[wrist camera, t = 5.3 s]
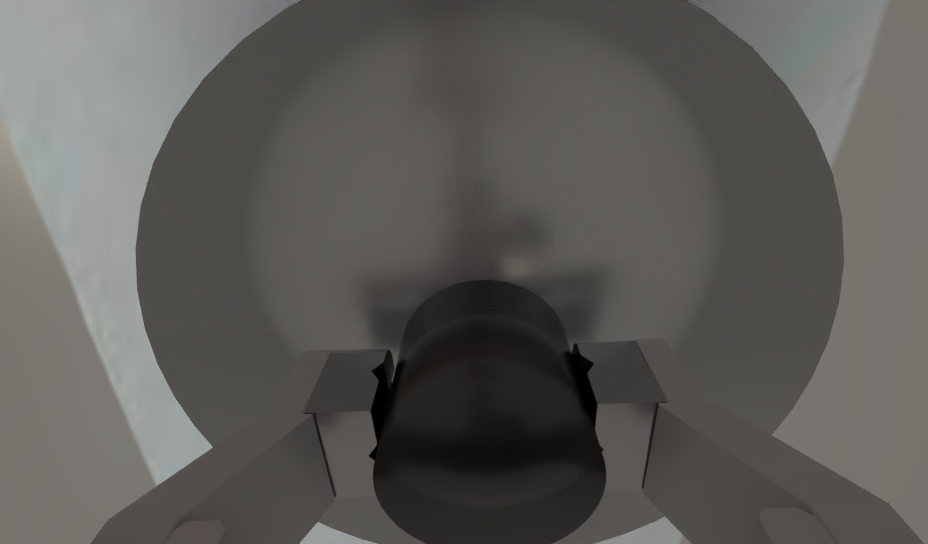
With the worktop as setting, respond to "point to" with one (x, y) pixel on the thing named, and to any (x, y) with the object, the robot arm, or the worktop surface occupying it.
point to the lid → (488, 241)
